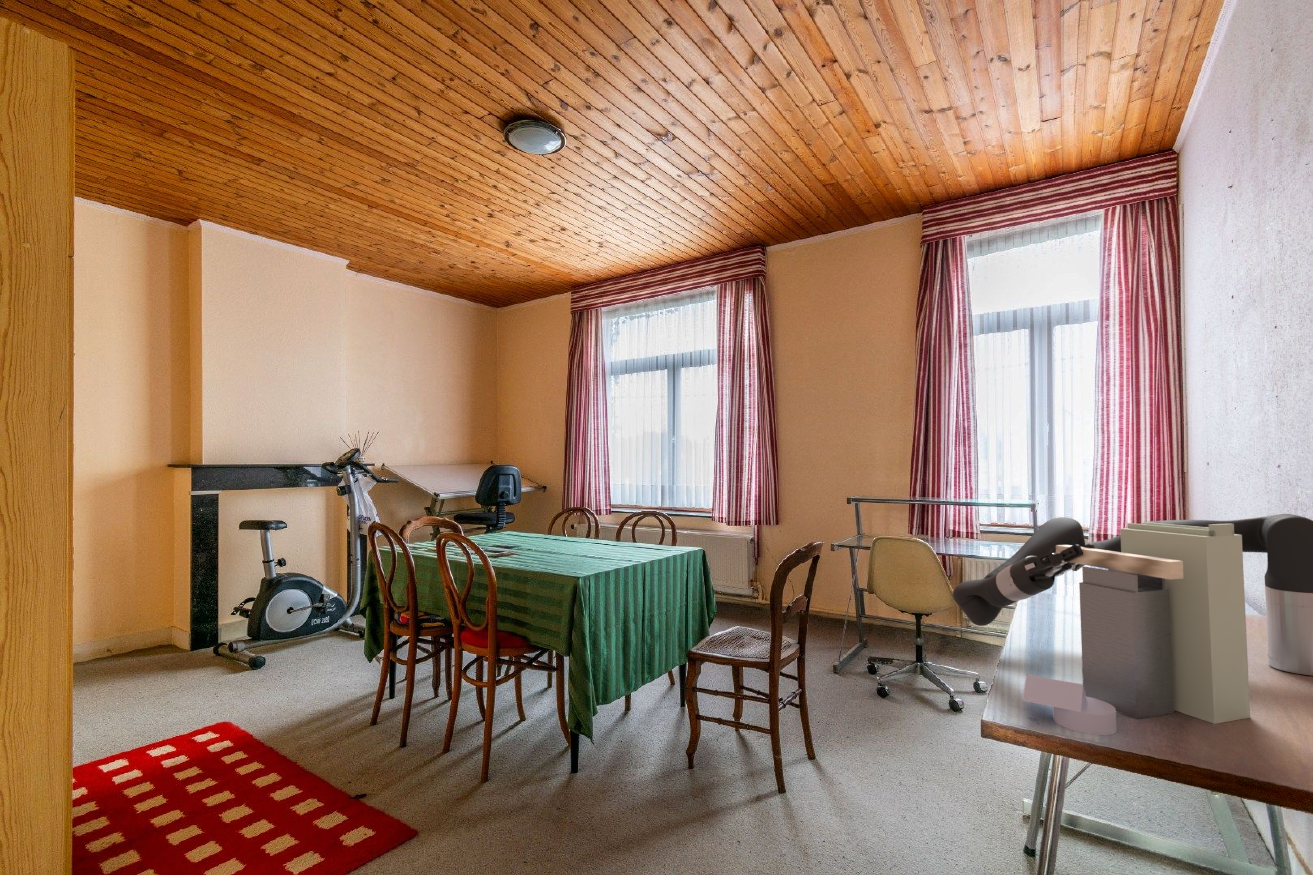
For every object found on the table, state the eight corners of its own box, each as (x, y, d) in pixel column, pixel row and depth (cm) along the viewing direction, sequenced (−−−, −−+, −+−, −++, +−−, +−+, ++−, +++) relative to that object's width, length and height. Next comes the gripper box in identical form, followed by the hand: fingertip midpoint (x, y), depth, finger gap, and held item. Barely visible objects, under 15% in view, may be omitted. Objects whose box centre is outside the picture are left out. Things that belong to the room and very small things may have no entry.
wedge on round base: (1023, 719, 110) (1114, 739, 102) (1022, 681, 110) (1113, 698, 102) (1031, 704, 117) (1118, 721, 109) (1030, 667, 117) (1116, 682, 109)
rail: (1056, 559, 128) (1055, 545, 129) (1067, 559, 129) (1067, 544, 129) (1170, 579, 107) (1170, 561, 107) (1183, 578, 108) (1182, 561, 108)
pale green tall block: (1126, 693, 122) (1119, 518, 124) (1160, 688, 125) (1153, 516, 126) (1214, 723, 108) (1205, 525, 109) (1250, 717, 110) (1241, 523, 112)
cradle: (1083, 698, 120) (1078, 566, 121) (1118, 693, 122) (1113, 564, 123) (1136, 719, 110) (1131, 575, 111) (1173, 712, 113) (1168, 572, 114)
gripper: (1057, 593, 138) (1123, 564, 124) (1005, 597, 134) (1068, 568, 120) (1041, 561, 141) (1104, 529, 127) (991, 564, 138) (1050, 532, 123)
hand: (1086, 548), depth 124 cm, fingers closed on rail, 3 cm apart
